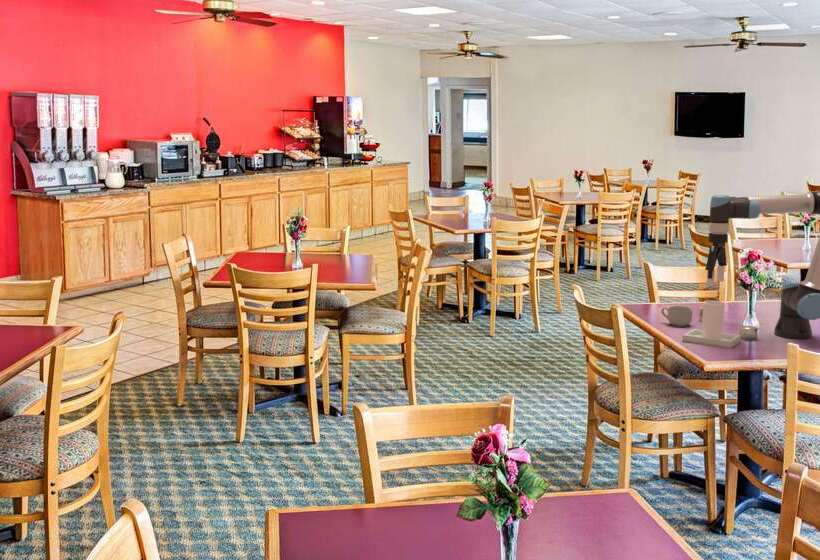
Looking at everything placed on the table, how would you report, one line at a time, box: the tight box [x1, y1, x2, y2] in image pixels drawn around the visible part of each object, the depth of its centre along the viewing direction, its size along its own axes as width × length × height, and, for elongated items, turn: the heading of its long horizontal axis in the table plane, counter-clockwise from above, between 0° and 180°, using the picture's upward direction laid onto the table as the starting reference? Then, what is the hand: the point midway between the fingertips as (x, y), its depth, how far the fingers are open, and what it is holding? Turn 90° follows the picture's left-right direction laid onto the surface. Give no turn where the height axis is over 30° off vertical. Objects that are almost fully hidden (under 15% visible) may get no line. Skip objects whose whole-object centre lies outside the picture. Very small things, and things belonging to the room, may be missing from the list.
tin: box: [739, 325, 759, 341], centre depth 397 cm, size 7×7×5 cm
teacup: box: [660, 305, 694, 328], centre depth 422 cm, size 14×11×8 cm
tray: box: [682, 328, 742, 349], centre depth 391 cm, size 20×14×3 cm
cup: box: [701, 300, 725, 340], centre depth 390 cm, size 8×8×16 cm
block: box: [698, 306, 703, 323], centre depth 431 cm, size 5×5×6 cm
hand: (715, 283), depth 387 cm, fingers open, 13 cm apart
